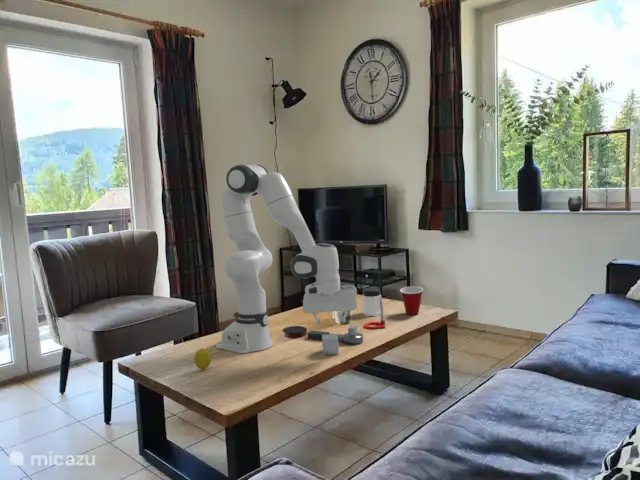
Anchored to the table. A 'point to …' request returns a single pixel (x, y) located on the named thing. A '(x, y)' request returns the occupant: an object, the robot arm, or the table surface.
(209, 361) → the lemon
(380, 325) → the tow hook
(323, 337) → the grey wooden cube
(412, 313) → the plastic cup
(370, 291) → the jar
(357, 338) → the ratchet
